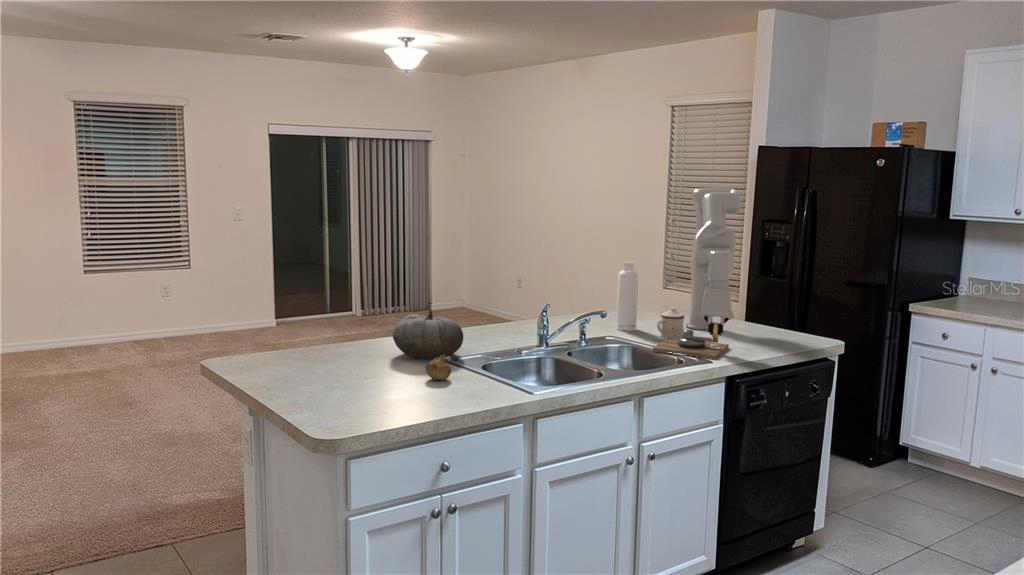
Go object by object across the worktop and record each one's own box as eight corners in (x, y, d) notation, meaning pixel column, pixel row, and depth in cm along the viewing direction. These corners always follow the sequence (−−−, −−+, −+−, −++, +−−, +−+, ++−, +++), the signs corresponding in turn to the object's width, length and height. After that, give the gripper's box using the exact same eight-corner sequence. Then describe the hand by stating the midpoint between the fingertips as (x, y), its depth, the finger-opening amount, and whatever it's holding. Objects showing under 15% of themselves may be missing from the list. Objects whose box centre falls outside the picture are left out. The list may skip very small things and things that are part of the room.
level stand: (668, 341, 308) (668, 336, 308) (728, 348, 298) (728, 343, 297) (652, 351, 291) (653, 346, 290) (715, 359, 280) (716, 354, 280)
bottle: (616, 326, 334) (618, 260, 330) (635, 327, 333) (638, 261, 329) (616, 330, 326) (618, 263, 322) (636, 331, 325) (638, 263, 321)
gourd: (406, 361, 261) (408, 308, 261) (379, 357, 282) (380, 308, 283) (474, 360, 273) (475, 310, 274) (443, 357, 295) (444, 310, 296)
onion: (427, 376, 253) (427, 351, 252) (452, 376, 253) (452, 352, 252) (424, 382, 246) (423, 357, 244) (449, 383, 245) (449, 358, 244)
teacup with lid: (672, 333, 322) (674, 305, 320) (688, 338, 314) (689, 309, 313) (649, 336, 316) (650, 307, 314) (664, 341, 308) (666, 311, 307)
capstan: (674, 345, 292) (675, 321, 290) (681, 340, 300) (682, 317, 299) (715, 349, 285) (716, 325, 284) (720, 344, 294) (721, 320, 293)
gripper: (694, 284, 286) (692, 334, 289) (740, 287, 282) (738, 338, 284) (696, 282, 293) (693, 331, 296) (741, 284, 289) (738, 334, 291)
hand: (715, 334), depth 290 cm, fingers closed on capstan, 2 cm apart
